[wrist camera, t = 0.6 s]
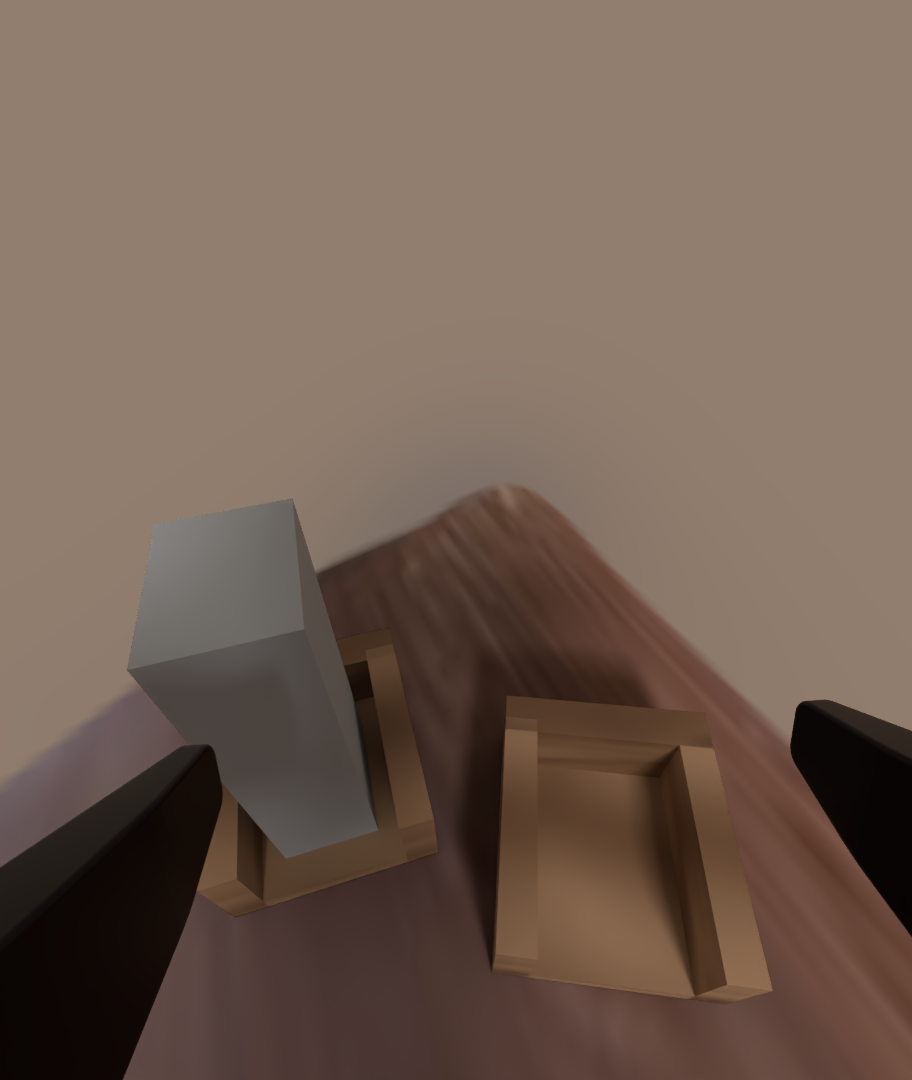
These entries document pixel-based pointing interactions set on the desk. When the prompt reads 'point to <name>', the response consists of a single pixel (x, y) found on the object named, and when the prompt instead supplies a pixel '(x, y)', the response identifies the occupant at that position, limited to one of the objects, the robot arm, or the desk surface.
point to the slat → (255, 671)
